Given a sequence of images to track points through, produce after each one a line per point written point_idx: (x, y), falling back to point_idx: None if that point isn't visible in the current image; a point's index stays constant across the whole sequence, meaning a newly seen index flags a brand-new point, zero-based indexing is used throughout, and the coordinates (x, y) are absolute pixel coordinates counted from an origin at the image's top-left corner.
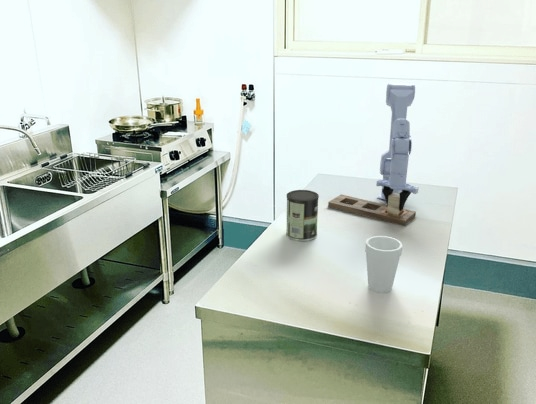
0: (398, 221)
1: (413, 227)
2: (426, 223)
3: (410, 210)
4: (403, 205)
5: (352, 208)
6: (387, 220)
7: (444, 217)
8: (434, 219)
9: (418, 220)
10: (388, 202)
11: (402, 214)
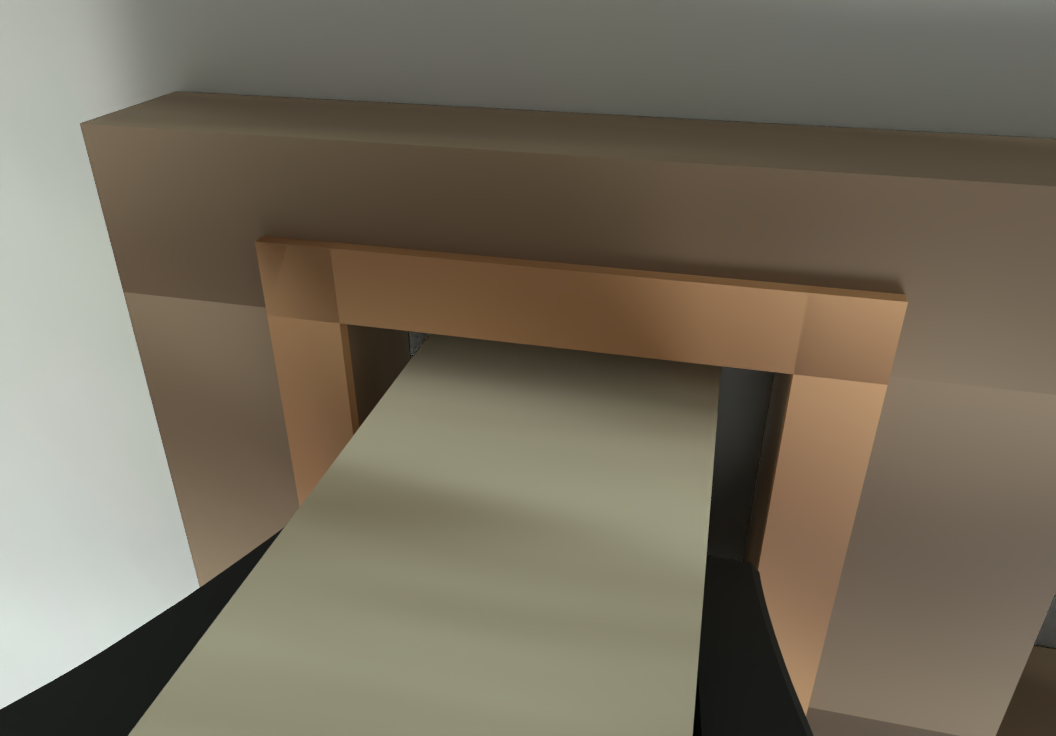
0: (293, 114)
1: (19, 121)
2: (5, 426)
3: None
4: None
5: None
6: (616, 122)
7: (2, 705)
8: (34, 609)
9: (161, 488)
10: (672, 658)
11: (320, 443)
